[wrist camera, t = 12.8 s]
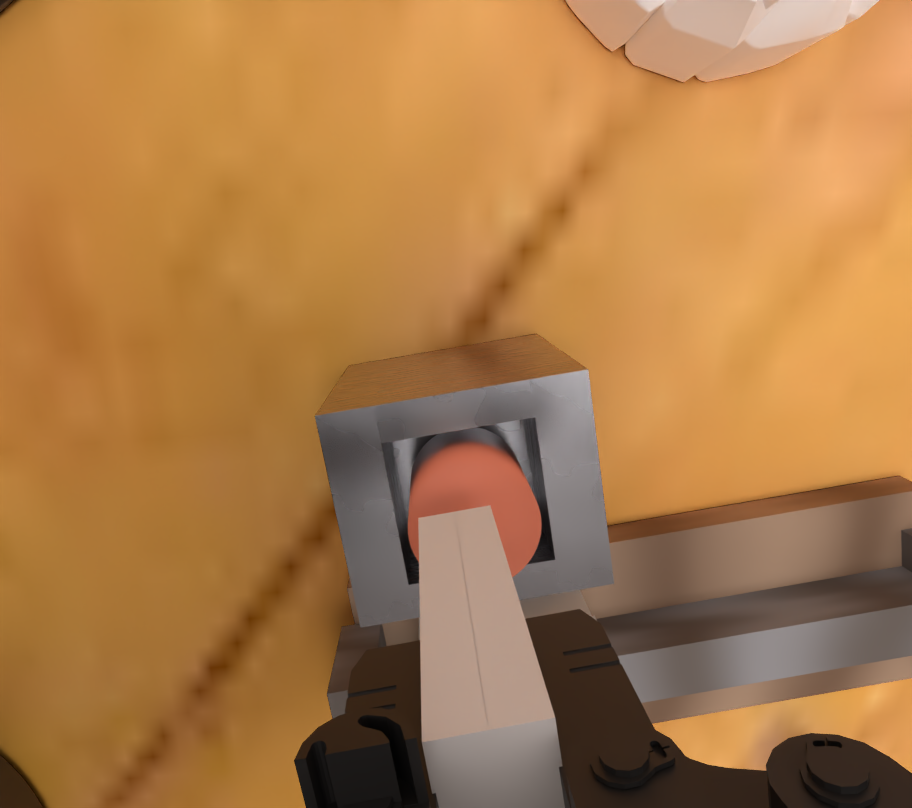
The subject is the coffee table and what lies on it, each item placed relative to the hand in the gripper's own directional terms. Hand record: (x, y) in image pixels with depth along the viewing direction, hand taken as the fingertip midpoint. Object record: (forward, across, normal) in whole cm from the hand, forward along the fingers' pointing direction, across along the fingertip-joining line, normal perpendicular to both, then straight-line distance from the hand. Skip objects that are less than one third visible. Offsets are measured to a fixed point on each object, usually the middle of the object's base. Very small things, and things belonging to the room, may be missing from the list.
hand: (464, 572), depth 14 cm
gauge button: (+6, 0, 0) cm, 6 cm away
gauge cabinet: (+12, 0, 0) cm, 12 cm away
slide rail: (+12, +6, -9) cm, 16 cm away
